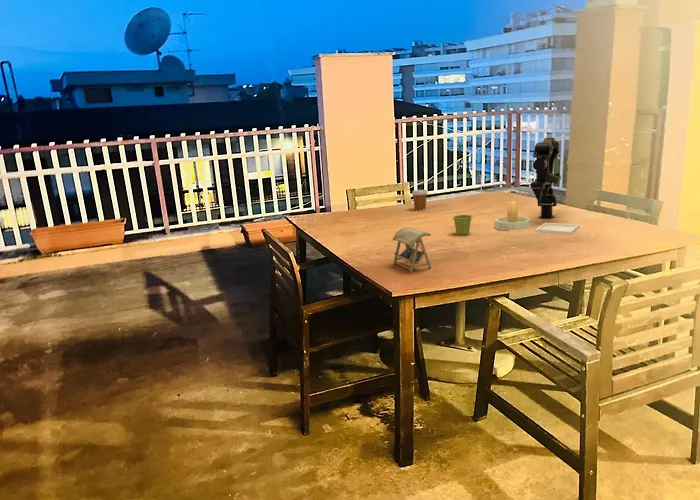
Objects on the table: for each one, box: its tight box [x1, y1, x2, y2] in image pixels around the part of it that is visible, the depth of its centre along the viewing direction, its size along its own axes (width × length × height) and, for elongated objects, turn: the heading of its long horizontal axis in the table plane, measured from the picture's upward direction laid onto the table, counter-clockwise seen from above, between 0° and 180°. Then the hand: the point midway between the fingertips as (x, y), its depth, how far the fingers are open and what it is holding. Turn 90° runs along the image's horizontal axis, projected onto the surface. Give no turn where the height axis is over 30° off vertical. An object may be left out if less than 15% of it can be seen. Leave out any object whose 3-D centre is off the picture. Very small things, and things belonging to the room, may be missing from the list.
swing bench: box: [392, 226, 432, 273], centre depth 213 cm, size 15×10×15 cm, turn 24°
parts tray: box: [534, 222, 580, 235], centre depth 255 cm, size 16×16×2 cm
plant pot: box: [452, 214, 473, 236], centre depth 261 cm, size 9×9×9 cm
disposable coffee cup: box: [411, 189, 429, 211], centre depth 329 cm, size 10×10×12 cm
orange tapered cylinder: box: [506, 200, 519, 223], centre depth 267 cm, size 5×5×12 cm
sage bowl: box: [494, 216, 532, 232], centre depth 268 cm, size 16×16×4 cm
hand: (542, 199), depth 270 cm, fingers open, 9 cm apart
